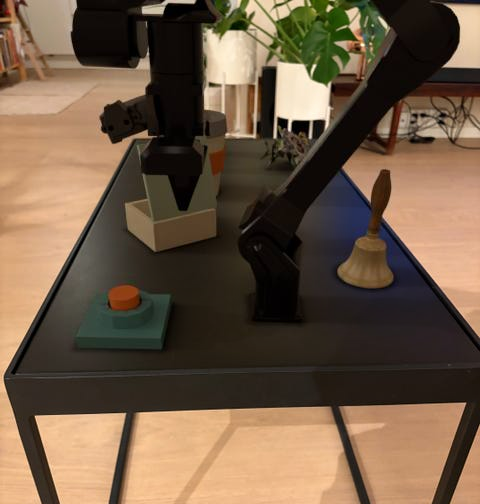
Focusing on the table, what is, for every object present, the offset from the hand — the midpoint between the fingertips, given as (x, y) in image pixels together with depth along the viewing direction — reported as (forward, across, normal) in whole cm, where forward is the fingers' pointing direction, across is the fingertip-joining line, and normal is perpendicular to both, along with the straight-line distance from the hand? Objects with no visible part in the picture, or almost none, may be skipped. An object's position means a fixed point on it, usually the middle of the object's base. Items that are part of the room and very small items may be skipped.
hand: (183, 210), depth 64 cm
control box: (+13, +6, -7) cm, 16 cm away
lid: (+2, -19, -3) cm, 20 cm away
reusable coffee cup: (+13, -42, -2) cm, 44 cm away
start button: (+10, +6, -7) cm, 14 cm away
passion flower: (+13, -58, +17) cm, 62 cm away
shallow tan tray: (+13, -22, -5) cm, 26 cm away
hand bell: (+13, -8, +26) cm, 30 cm away
